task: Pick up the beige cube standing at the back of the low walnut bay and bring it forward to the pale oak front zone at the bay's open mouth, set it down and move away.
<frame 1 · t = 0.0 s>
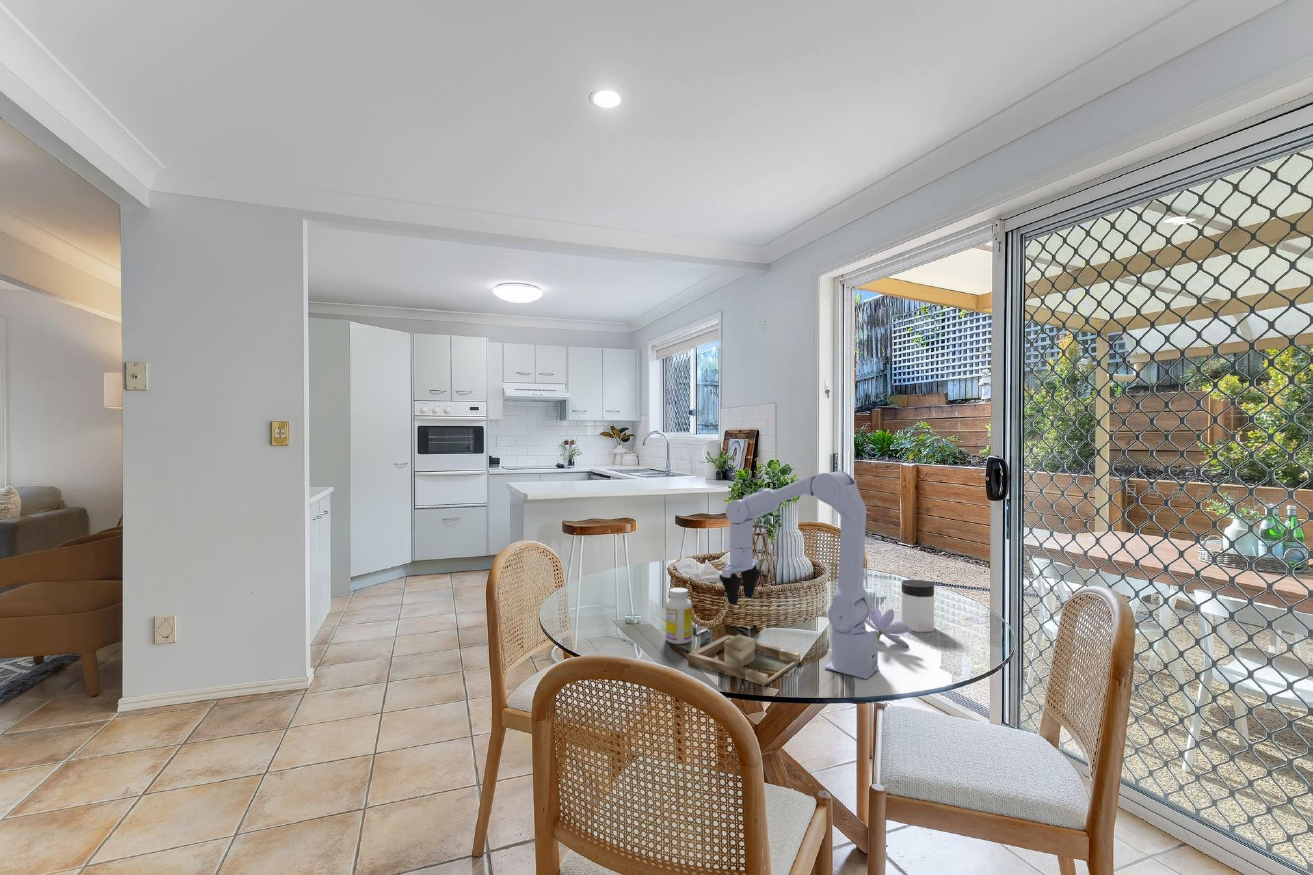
hand: (740, 600, 152), 10 cm above the table, tool pointing down, fingers open, 7 cm apart
jar: (917, 628, 163), on the table
beige cube: (739, 661, 139), on the table
bay: (745, 662, 138), on the table
supplement bottle: (678, 641, 152), on the table
winch: (706, 644, 149), on the table
water lily: (886, 646, 149), on the table
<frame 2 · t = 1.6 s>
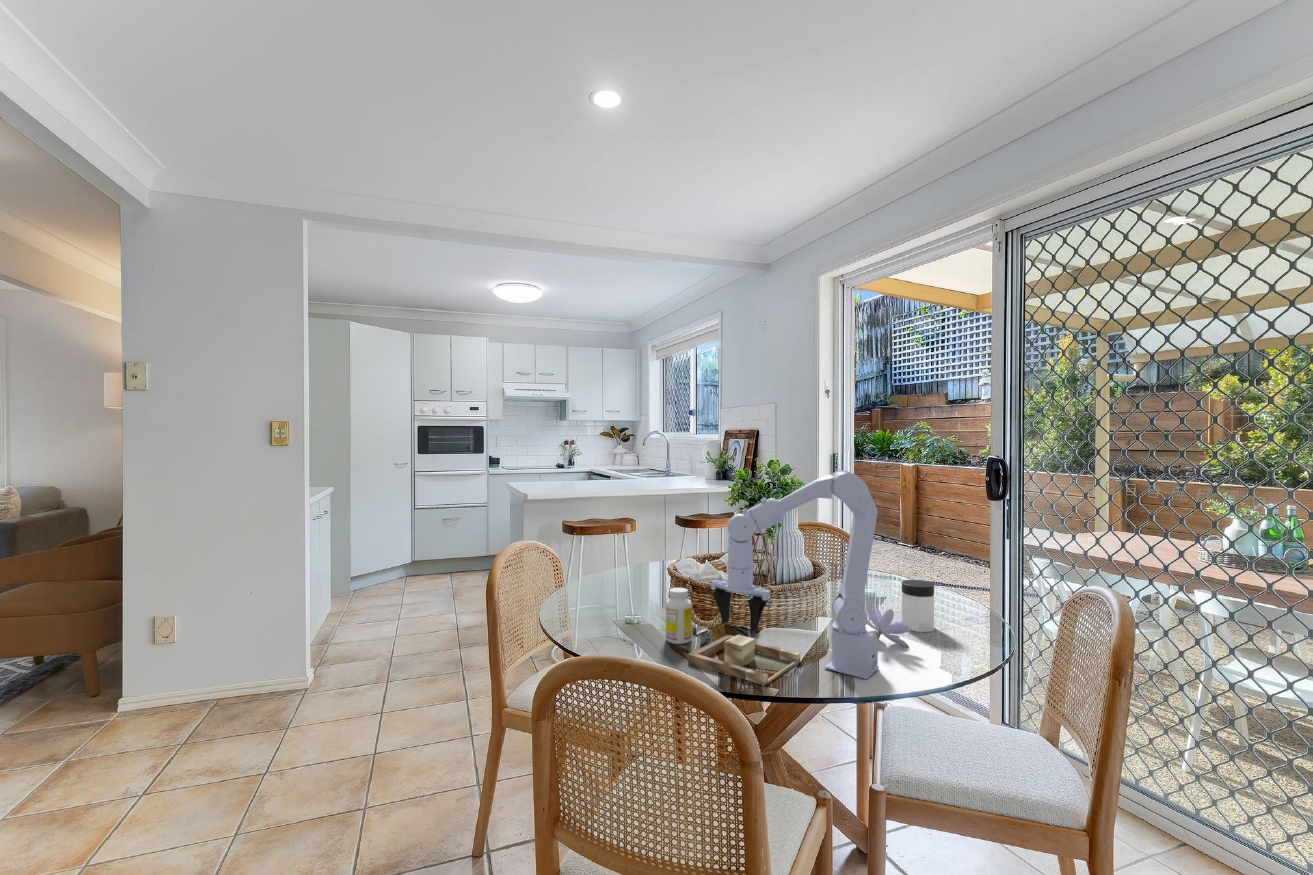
hand: (739, 625, 138), 8 cm above the table, tool pointing down, fingers open, 7 cm apart
nothing on the table moved.
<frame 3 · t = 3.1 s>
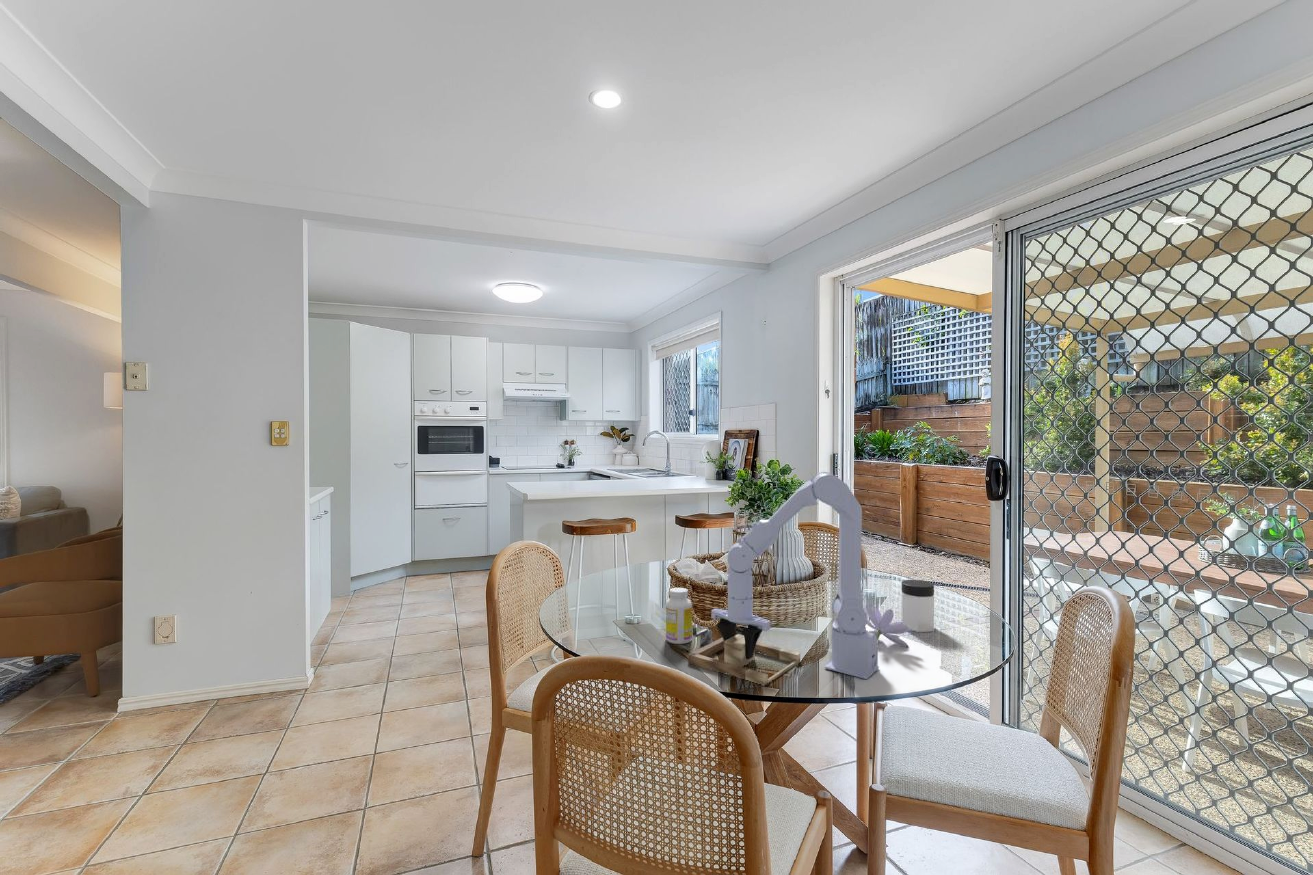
hand: (739, 654, 139), 1 cm above the table, tool pointing down, fingers closed on beige cube, 4 cm apart
beige cube: (739, 661, 139), on the table, touching gripper
everything else where it was.
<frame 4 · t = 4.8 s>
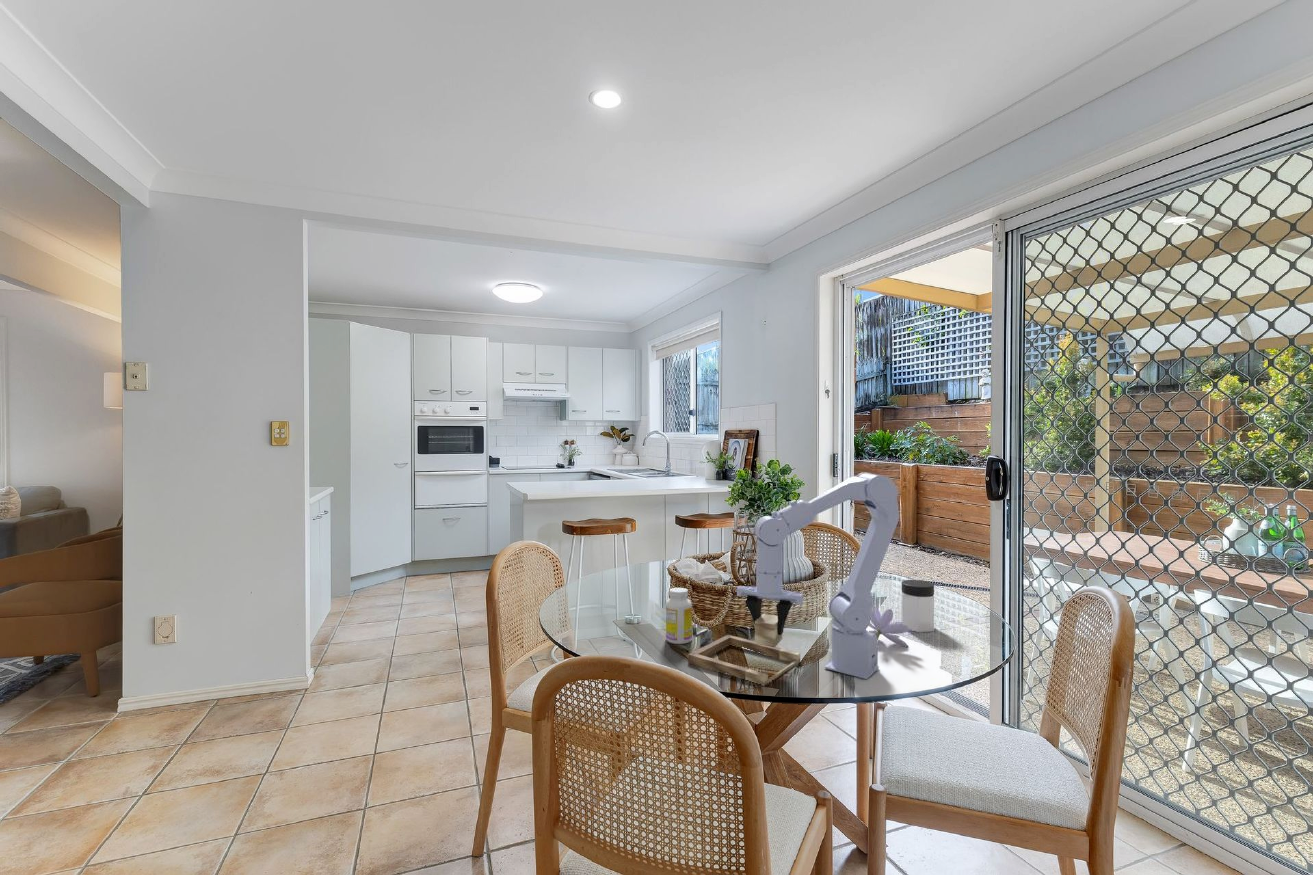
hand: (769, 631, 134), 8 cm above the table, tool pointing down, fingers closed on beige cube, 4 cm apart
beige cube: (768, 641, 134), point 6 cm above the table, touching gripper
everything else where it was.
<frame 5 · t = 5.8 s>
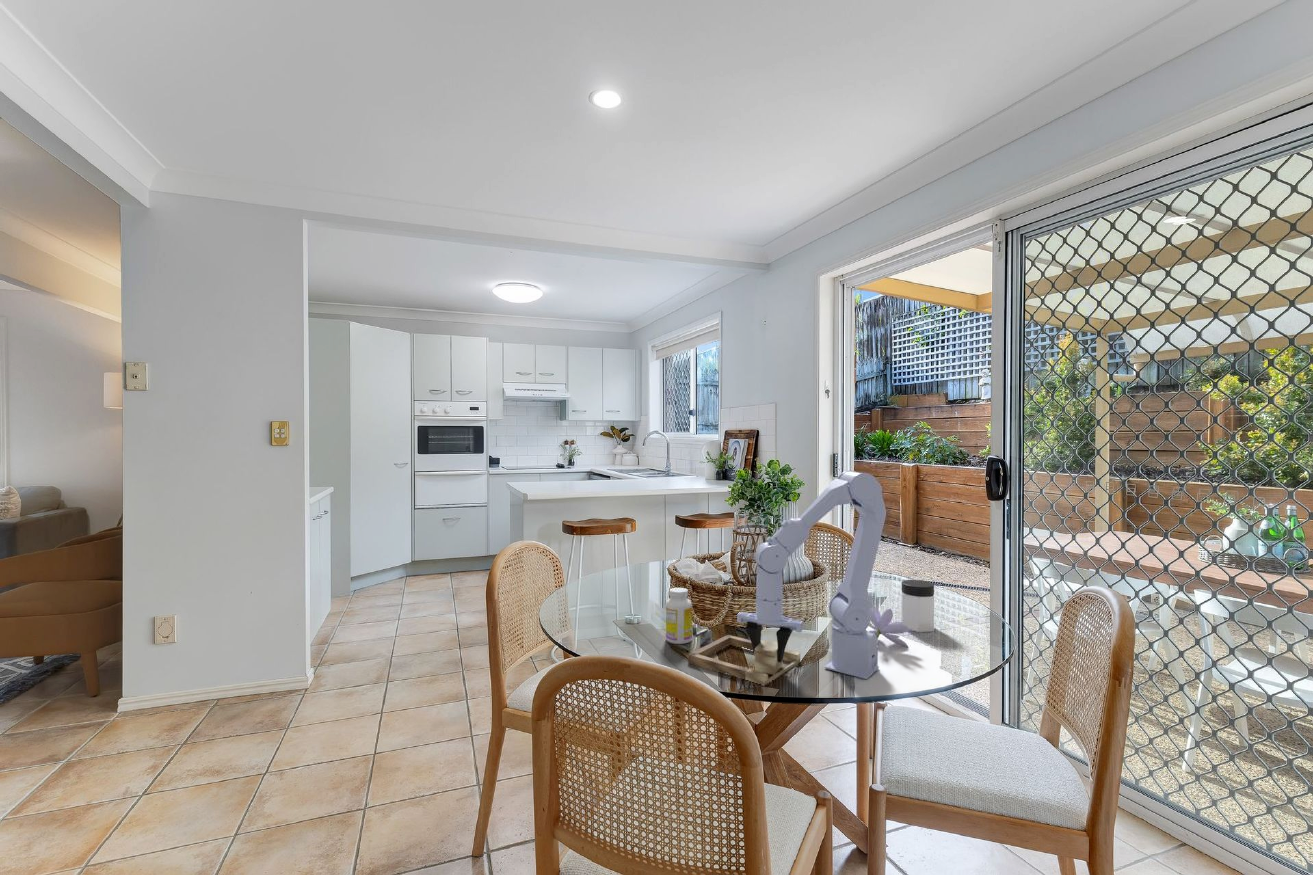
hand: (768, 658, 134), 2 cm above the table, tool pointing down, fingers closed on beige cube, 4 cm apart
beige cube: (768, 667, 134), on the table, touching gripper
everything else where it was.
when the fingers open (2 cm above the table, at t = 6.6 s): beige cube stays where it is, on the table.
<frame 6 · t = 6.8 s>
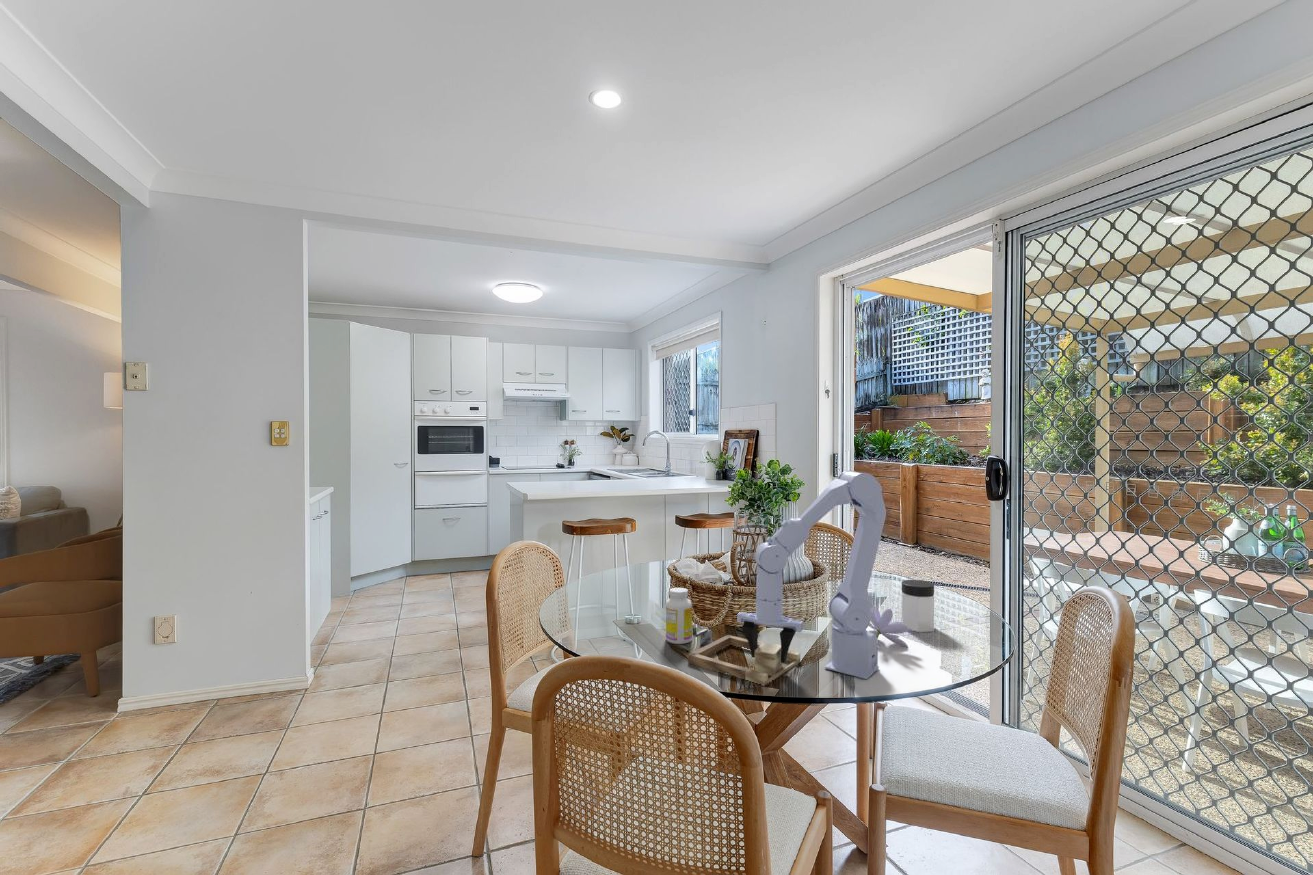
hand: (768, 658, 134), 2 cm above the table, tool pointing down, fingers open, 6 cm apart
beige cube: (768, 670, 134), on the table
everything else where it was.
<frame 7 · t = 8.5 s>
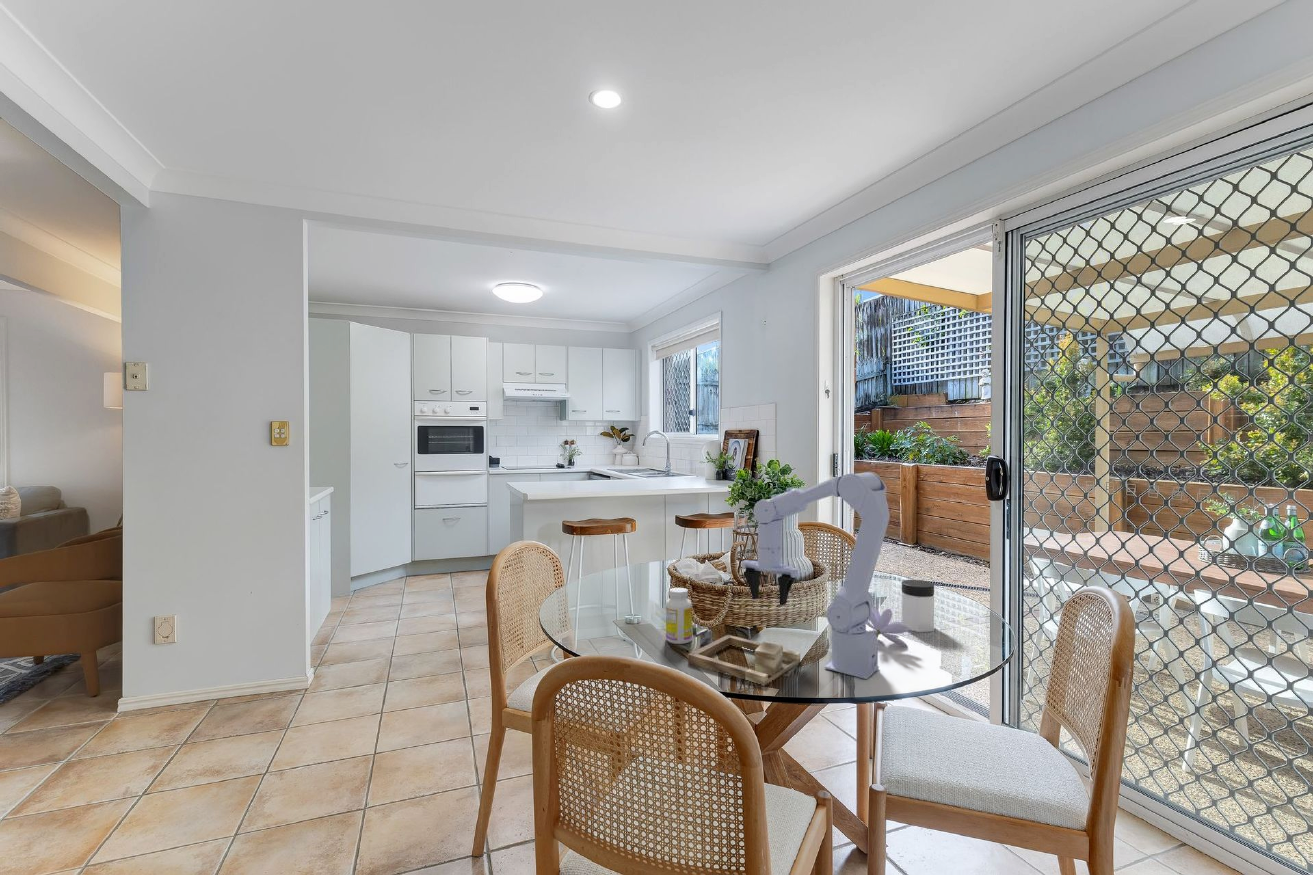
hand: (769, 601, 150), 10 cm above the table, tool pointing down, fingers open, 7 cm apart
nothing on the table moved.
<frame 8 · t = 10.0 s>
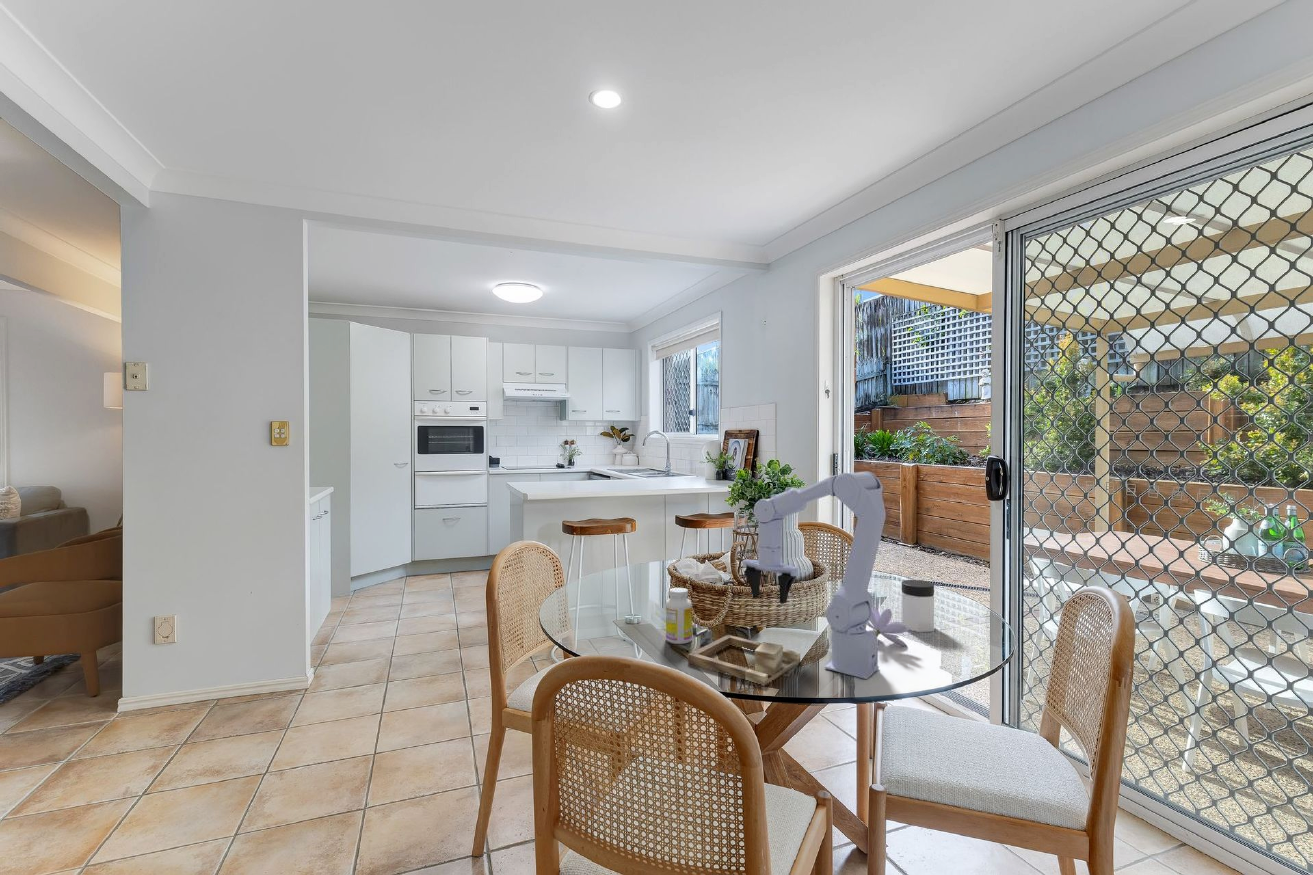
hand: (769, 600, 152), 10 cm above the table, tool pointing down, fingers open, 7 cm apart
nothing on the table moved.
at the end: beige cube inside the target area (0.3 cm from its centre), on the table; beige cube tilted 0°; the gripper is holding nothing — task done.
